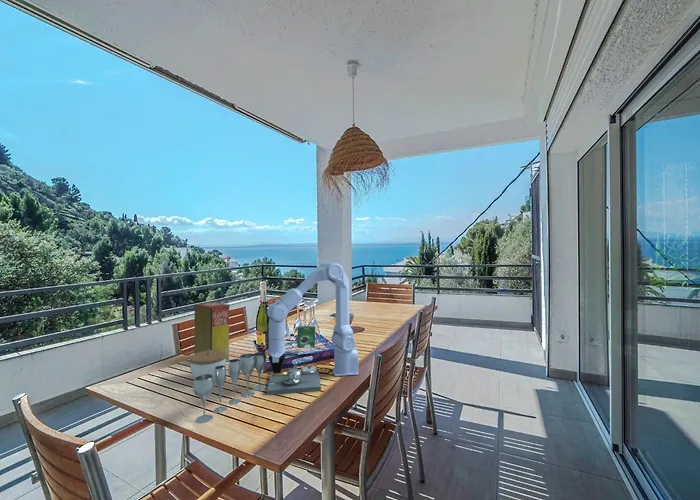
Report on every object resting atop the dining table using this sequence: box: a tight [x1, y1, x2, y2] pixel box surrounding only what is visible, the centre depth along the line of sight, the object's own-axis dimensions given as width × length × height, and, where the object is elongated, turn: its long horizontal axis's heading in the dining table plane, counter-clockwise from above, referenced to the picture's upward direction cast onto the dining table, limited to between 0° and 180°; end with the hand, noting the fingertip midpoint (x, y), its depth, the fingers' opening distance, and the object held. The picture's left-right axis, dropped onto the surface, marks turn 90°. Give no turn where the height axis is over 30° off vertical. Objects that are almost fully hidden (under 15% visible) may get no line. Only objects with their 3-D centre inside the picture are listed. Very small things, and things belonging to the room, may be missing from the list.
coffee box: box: [296, 324, 316, 348], centre depth 145 cm, size 8×3×13 cm, turn 110°
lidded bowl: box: [189, 350, 227, 381], centre depth 118 cm, size 13×13×11 cm
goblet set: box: [192, 351, 267, 424], centre depth 100 cm, size 28×6×13 cm, turn 154°
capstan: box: [273, 363, 316, 385], centre depth 111 cm, size 15×15×4 cm
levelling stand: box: [266, 365, 322, 396], centre depth 114 cm, size 18×16×4 cm
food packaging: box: [193, 301, 230, 363], centre depth 137 cm, size 13×9×25 cm
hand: (277, 375), depth 111 cm, fingers closed
